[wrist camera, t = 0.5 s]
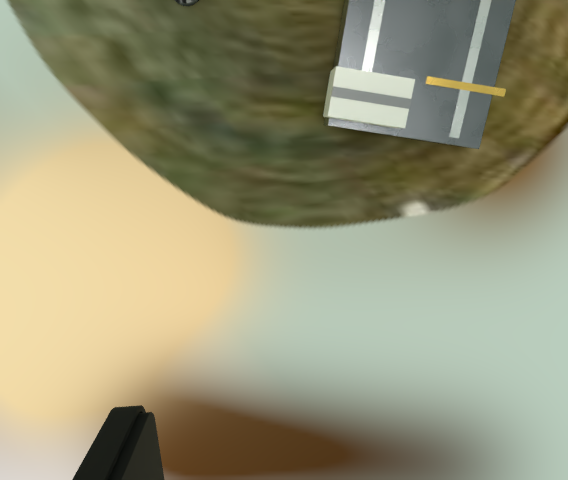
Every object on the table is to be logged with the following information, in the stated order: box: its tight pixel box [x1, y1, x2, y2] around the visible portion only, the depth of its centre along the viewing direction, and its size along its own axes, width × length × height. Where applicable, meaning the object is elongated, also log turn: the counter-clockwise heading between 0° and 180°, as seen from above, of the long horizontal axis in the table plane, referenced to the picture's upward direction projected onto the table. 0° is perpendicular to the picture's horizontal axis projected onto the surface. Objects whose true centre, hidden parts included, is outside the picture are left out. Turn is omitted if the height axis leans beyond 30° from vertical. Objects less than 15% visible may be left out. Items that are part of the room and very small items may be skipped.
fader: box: [323, 66, 415, 128], centre depth 31 cm, size 3×5×3 cm, turn 82°
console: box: [324, 0, 516, 149], centre depth 33 cm, size 18×13×3 cm
